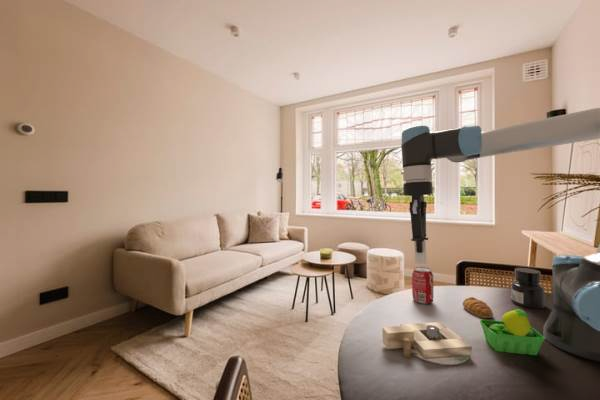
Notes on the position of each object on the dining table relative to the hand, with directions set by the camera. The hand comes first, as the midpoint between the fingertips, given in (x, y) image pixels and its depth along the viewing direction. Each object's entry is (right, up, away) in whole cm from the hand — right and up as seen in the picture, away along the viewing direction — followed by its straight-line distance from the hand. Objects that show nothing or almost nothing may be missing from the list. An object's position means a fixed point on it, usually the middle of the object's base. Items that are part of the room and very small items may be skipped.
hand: (420, 263), depth 75 cm
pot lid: (0, -20, -7) cm, 21 cm away
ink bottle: (+45, -19, +17) cm, 52 cm away
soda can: (+10, -19, +20) cm, 30 cm away
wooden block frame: (-4, -19, -7) cm, 21 cm away
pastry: (+25, -20, +12) cm, 33 cm away
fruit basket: (+19, -20, -9) cm, 29 cm away
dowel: (-9, -20, -11) cm, 25 cm away
